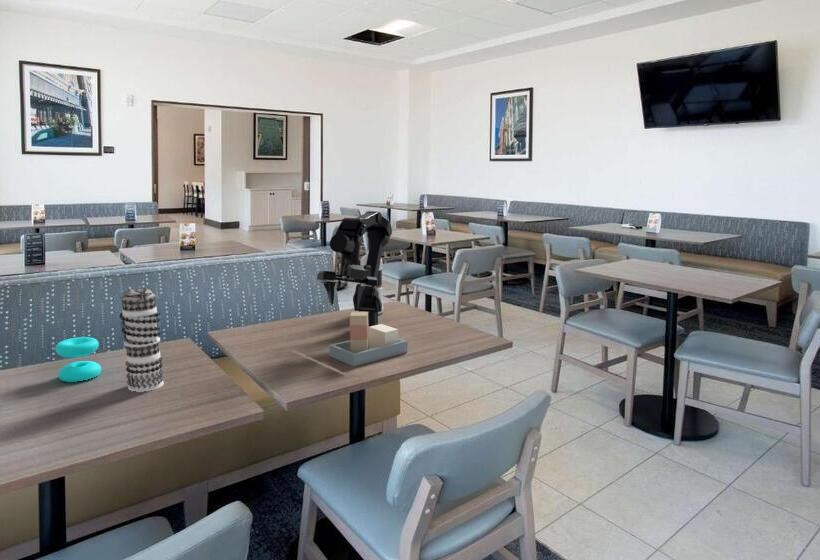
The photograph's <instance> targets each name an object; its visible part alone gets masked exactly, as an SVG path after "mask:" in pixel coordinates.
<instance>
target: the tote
mask: <svg viewBox="0 0 820 560" xmlns="http://www.w3.org/2000/svg"><path fill="white" fill-rule="evenodd" d="M328 350H329V357H331V358H333V359H335V360H337V361H340V362H342V363H344V364H347V365H348V366H351V367H358V366H361V365H365V364H369V363H372V362H375V361H376V362H377V361H379V360H383V359H387V358H388V359H389V358H391V357H394V356H398V355H402V354H405V353H408V340H406V339H405V340H404V339H403V338H399V337H398V342H397V343H393V344H389V345H385V346H381V347H377V348H373V349H369V335H368V350H365V351H361V352H357V353H353V352H350V340H345V341H340V342H336V343H332V344H329V349H328Z"/></svg>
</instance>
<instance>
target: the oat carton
mask: <svg viewBox="0 0 820 560" xmlns="http://www.w3.org/2000/svg"><path fill="white" fill-rule="evenodd" d="M368 336H369V327H368V312H358V311H351V313H350V315H349V339H350V352H353V353H357V352H361V351H365V350H368Z"/></svg>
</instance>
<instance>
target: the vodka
mask: <svg viewBox="0 0 820 560" xmlns="http://www.w3.org/2000/svg"><path fill="white" fill-rule="evenodd" d="M367 245H368V246H367V253H366V254H365V255H364V256H362V257H361V259H360V260H359V261H360V262H361V264H360V265H361V267H364V265H366V262H367V257H368V252H369V247H370V242H369V239H368V238H367ZM377 280H378V286H376V288H377V290H378V292H379V298H380V300H381V303H382V311H381V312H378V316H379V315H381V314H383V313H384V310H385V309H384V304H383V287H382V286H383V259H382V257H381V261H380V266H379V271H378V276H377Z"/></svg>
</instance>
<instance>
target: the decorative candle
mask: <svg viewBox="0 0 820 560" xmlns="http://www.w3.org/2000/svg"><path fill="white" fill-rule="evenodd" d="M156 296H157V295H156V294H155V293H153V291H152V290H151V289H148V288H140V287H139V288H131V289H128V290H126V291H124V293H123V295H122V296H121V297H120V299H121V302H122V303H121V304H122V305H121V306H122V309H121V313H120V314H119V316H118V317H119V318H120V320H121V322H120V327H121V332H122V334H123V335H122V340H123V345H124V346H125V348H126V349H125V350H126V357H125V358H126V361H125V366H126V368H125V370H126V372H127V374H126V375H125V377H126V379H127V381H126V384H127V385H128V387H127V390H128V389H129V390H128V391H130V390H131V391H130V392H133V391H136V392H135V393H144V391H146V392H151V390H152V391H154V390H158V389H160V388H162V387H163V386H164V384H165V383H164V369H162V368H163V363H162V361H163V358H162V356H161V350H160V345H159V344H160V342H161V337H160V335H161V333H162V332H160V331H159V330H160V329H161V325H159V324H157V323H158V322H160V321H161V318H159V316H161V312H159V311H158V310H157V305H156Z"/></svg>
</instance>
